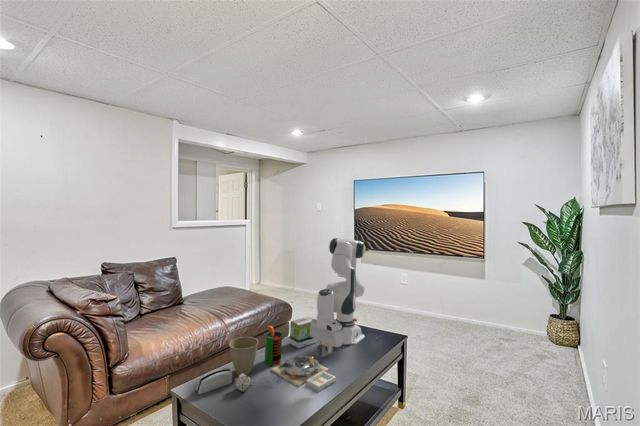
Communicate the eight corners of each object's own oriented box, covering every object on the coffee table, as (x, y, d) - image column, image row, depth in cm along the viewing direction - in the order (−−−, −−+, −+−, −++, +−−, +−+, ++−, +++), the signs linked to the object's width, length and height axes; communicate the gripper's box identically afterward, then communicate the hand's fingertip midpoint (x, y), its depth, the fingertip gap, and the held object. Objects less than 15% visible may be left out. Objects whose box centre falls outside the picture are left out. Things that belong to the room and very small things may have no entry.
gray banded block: (317, 354, 164) (317, 345, 164) (328, 350, 168) (328, 342, 168) (322, 356, 161) (322, 347, 161) (332, 353, 165) (332, 344, 165)
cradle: (323, 375, 172) (323, 370, 172) (335, 381, 166) (335, 376, 166) (306, 384, 163) (306, 379, 163) (318, 391, 157) (318, 386, 157)
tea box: (299, 348, 203) (299, 325, 203) (289, 343, 211) (289, 320, 210) (317, 342, 213) (317, 319, 213) (307, 337, 221) (308, 315, 220)
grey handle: (227, 378, 168) (231, 362, 165) (231, 385, 164) (234, 369, 162) (194, 389, 157) (197, 373, 154) (198, 397, 154) (200, 380, 151)
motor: (277, 367, 180) (277, 331, 179) (261, 365, 182) (262, 329, 181) (283, 358, 190) (283, 324, 189) (268, 357, 192) (268, 323, 191)
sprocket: (324, 362, 184) (324, 349, 183) (312, 381, 163) (312, 367, 163) (288, 356, 190) (289, 344, 189) (273, 374, 169) (273, 361, 169)
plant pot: (222, 375, 171) (223, 344, 170) (241, 363, 184) (241, 334, 184) (245, 382, 164) (246, 350, 164) (263, 369, 177) (263, 340, 177)
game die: (246, 397, 158) (258, 383, 156) (231, 398, 152) (243, 383, 150) (241, 381, 164) (252, 367, 162) (227, 380, 158) (238, 366, 157)
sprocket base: (300, 357, 192) (300, 355, 192) (328, 370, 177) (328, 368, 177) (270, 370, 176) (270, 368, 176) (299, 386, 161) (299, 384, 161)
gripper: (307, 319, 170) (306, 345, 170) (335, 329, 155) (335, 358, 155) (315, 316, 174) (315, 342, 174) (344, 326, 160) (344, 355, 160)
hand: (325, 350), depth 165 cm, fingers closed on gray banded block, 4 cm apart
